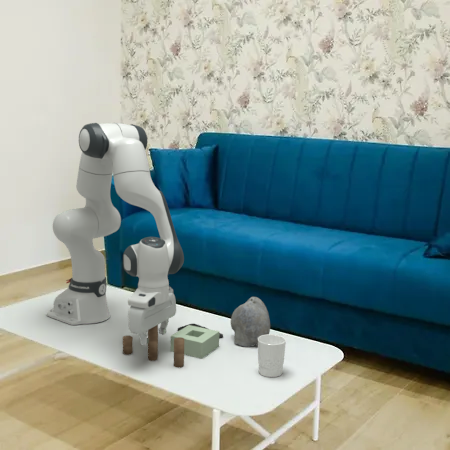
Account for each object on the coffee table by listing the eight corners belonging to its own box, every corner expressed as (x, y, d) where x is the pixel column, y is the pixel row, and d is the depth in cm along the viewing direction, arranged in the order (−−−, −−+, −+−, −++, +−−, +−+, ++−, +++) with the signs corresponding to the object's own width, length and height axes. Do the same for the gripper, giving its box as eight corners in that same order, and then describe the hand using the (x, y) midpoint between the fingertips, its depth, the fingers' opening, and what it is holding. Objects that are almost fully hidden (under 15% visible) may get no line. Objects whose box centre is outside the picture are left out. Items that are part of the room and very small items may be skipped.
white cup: (289, 372, 179) (291, 339, 177) (273, 381, 173) (274, 346, 171) (268, 364, 184) (269, 332, 182) (250, 372, 178) (252, 339, 176)
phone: (193, 323, 214) (224, 334, 204) (193, 326, 215) (224, 338, 204) (175, 328, 209) (207, 341, 199) (175, 331, 209) (207, 344, 199)
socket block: (170, 351, 191) (170, 335, 191) (188, 339, 201) (188, 325, 200) (201, 358, 187) (202, 342, 186) (219, 346, 196) (219, 331, 195)
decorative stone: (220, 341, 201) (221, 296, 198) (238, 331, 209) (240, 288, 206) (260, 352, 192) (262, 305, 190) (277, 342, 201) (279, 297, 198)
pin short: (120, 353, 189) (120, 337, 188) (126, 350, 192) (126, 334, 191) (128, 355, 188) (128, 339, 187) (134, 352, 190) (134, 336, 189)
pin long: (145, 359, 185) (145, 321, 183) (151, 356, 188) (151, 318, 185) (154, 361, 184) (154, 322, 181) (159, 358, 186) (160, 319, 184)
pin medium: (171, 366, 181) (172, 339, 179) (177, 362, 184) (177, 336, 182) (180, 368, 180) (181, 342, 178) (185, 364, 182) (186, 338, 181)
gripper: (163, 283, 192) (163, 326, 195) (124, 301, 174) (124, 348, 177) (181, 286, 189) (181, 329, 192) (143, 304, 171) (143, 352, 174)
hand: (153, 338), depth 184 cm, fingers open, 8 cm apart
